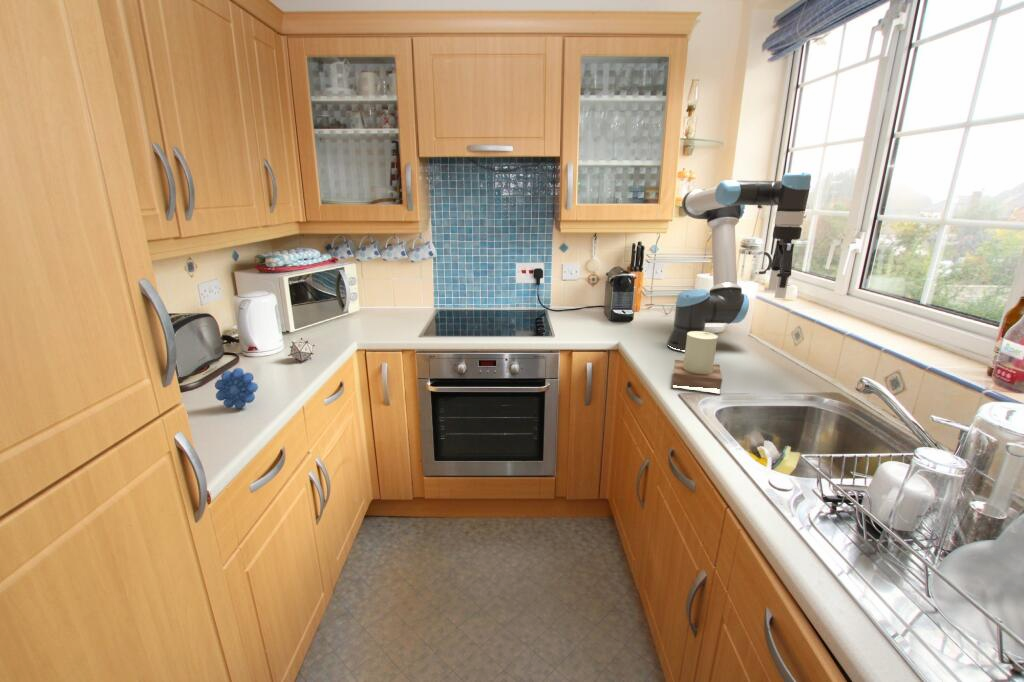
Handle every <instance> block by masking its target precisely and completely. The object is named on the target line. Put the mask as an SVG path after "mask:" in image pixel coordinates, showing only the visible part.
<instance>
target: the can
mask: <svg viewBox="0 0 1024 682" xmlns="http://www.w3.org/2000/svg"><path fill="white" fill-rule="evenodd" d="M718 338H719V336H718V335H717V334H715V333H713V332H708V331H704V332H703V331H691V332H688V333H687V341H686V349H685V353H684V357H683V361H684V363H683V369H684V370H686V371H688V372H692V373H696V374H710V373H712V372H713V364H714V362H715V355H716V350H717V349H716V348H717V344H718V343H717V342H718Z"/></svg>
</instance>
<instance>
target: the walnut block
mask: <svg viewBox="0 0 1024 682" xmlns="http://www.w3.org/2000/svg"><path fill="white" fill-rule="evenodd" d="M683 363H684V360H680V359H675V360H674V366H673V372H672V383H673V384H672V385H677V386H689V387H703V388H717V389H721V388H722V383H723V376H722V371H721V366H720V364H713V372H712V373H710V374H696V373H692V372H688V371H686V370H684V369H683ZM672 385H671V386H672ZM721 390H722V389H721Z"/></svg>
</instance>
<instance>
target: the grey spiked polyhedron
mask: <svg viewBox="0 0 1024 682" xmlns="http://www.w3.org/2000/svg"><path fill="white" fill-rule="evenodd" d="M291 344H292V345H291V346H289V348H291V349H290V352H289V353H290V354H288V355H287V356H288V357H290V356H291V357H293V358H295V360H296V359H297V361H300V363H301V364H303V363H302V362H304V361H306V360H308V359H310V360H312V357H311V356H312V355H314V353H313V348H314V347H315V344H313V345H312V344H310V343H309V340H303V337H301V338H300V340H297V341H295V342H294V341H291Z"/></svg>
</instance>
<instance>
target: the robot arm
mask: <svg viewBox="0 0 1024 682" xmlns="http://www.w3.org/2000/svg"><path fill="white" fill-rule="evenodd" d="M811 180H812V175H811V173H810V172H786V173H784V174H783V176H782V179H781V180H739V179H738V180H735V179H729V180H721V181H720V182H719V183H718V184H717V186H714V187H711V188H707V189H705V188H704V189H703V188H702V189H694V190H691V191H689V192H687V193H686V194H685V195H684V197H682V201H681V208H682V210H683V213H684V214H685V215H687V216H688V217H689V218H692V219H696V220H706V223H707V224H706V225H707V226H708V227H709V228H710V229H711V249H712V250H711V251H712V253H711V254H712V281H713V283H712V284H713V286H712V287H711V288H710V290H707V289H702V288H701V289H699V288H698V289H697V288H695V289H694V288H693V289H687V290H683V291H681V292H679V293H678V294H677V295H676V296H677V298H676V302H675V311H674V320H673V321H674V322H673V328H672V330H671V332H670V335H669V336H668V338H667V342H666V345H667V344H668V345H669V346H671V347H673V348H676V349H680V350H685V349H686V341H687V333H688V332H691V331H703V332H705V327H706V324H728V325H729V324H739V323H740V322H742V321H743V320H745V318H746V316H747V313H748V311H749V307H750V306H749V305H750V302H749V301H750V300H749V297H748V295H747V294H745V293H742V290H743V289H742V287H741V286H739V284H738V274H737V273H738V269H737V247H736V246H737V245H736V225H737V224H738V223H739V222H740V219H741V218H742V217H743V215H744V213H745V211H744V210H745V208H746V206H769V207H771V206H772V207H773V206H777V210H776V212H775V213H776V214H775V218H774V224H775V225H776V226H774V227H773V231H772V232H773V233H772V238H773V239H775V240H777V241H776V244H775V249H774V252H773V257H772V261H771V264H770V269H771V270H770V277H769V282H768V287H767V290H768V291H775V294H774V298H775V299H786V294H787V288H788V284H789V279H790V277H791V276H792V267H793V255H794V247H795V243H792V241H796V240H797V241H798V240H800V239H801V235H802V231H803V230H802V229H803V228H802V225H803V223H804V219H806V218H807V214H805V212H806V209H807V204H808V200H809V194H810V189H811V182H812V181H811Z"/></svg>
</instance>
